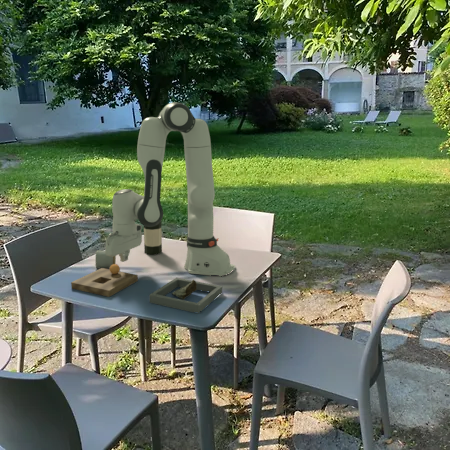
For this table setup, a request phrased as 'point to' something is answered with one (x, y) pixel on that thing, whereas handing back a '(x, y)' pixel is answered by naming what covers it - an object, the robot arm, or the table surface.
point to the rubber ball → (114, 269)
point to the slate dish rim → (161, 299)
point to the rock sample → (185, 290)
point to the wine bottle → (153, 239)
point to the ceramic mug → (104, 260)
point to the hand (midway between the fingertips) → (124, 260)
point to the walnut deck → (111, 282)
